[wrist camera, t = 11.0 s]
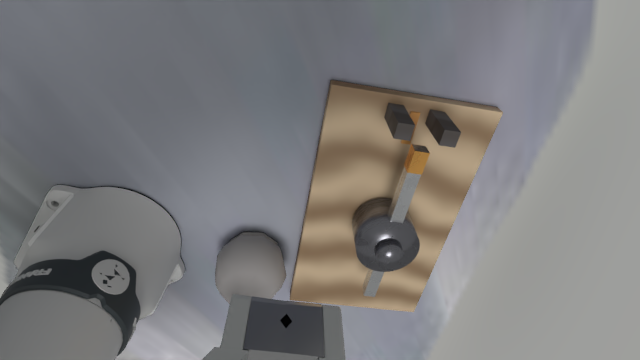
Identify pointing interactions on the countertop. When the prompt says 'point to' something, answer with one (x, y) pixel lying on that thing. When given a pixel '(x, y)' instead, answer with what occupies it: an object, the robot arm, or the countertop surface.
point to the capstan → (389, 225)
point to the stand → (385, 187)
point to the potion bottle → (250, 267)
